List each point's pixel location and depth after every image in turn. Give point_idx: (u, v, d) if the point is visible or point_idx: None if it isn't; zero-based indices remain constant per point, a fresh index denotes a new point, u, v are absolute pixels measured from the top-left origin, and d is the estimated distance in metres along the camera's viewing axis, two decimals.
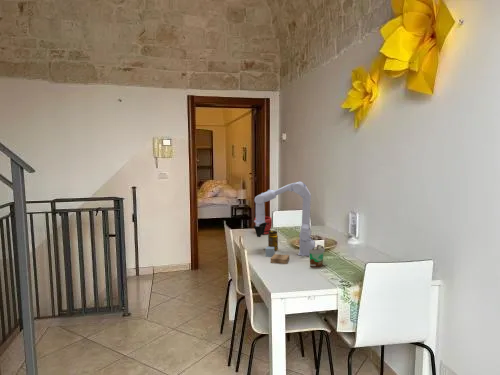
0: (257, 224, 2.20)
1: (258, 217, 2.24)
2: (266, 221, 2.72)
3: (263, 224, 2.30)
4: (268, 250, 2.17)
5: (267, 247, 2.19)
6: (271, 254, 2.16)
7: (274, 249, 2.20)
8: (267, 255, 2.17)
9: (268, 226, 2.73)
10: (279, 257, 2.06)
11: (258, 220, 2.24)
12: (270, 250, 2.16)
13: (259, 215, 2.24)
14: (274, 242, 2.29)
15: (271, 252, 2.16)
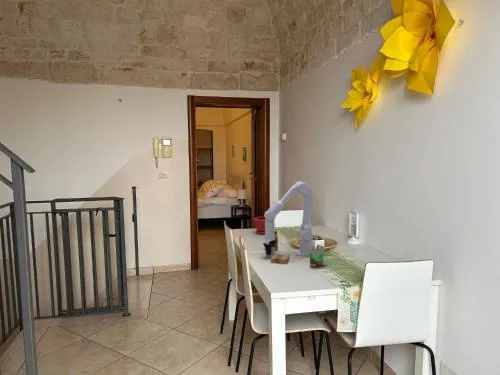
0: (267, 242, 2.11)
1: (268, 234, 2.15)
2: None
3: (273, 241, 2.21)
4: None
5: None
6: (271, 254, 2.16)
7: (274, 249, 2.20)
8: (267, 255, 2.17)
9: None
10: (279, 257, 2.06)
11: (268, 237, 2.15)
12: None
13: (268, 232, 2.15)
14: None
15: (271, 252, 2.16)
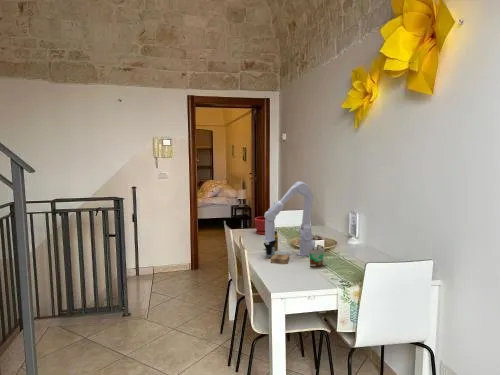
0: (267, 242, 2.11)
1: (268, 234, 2.15)
2: None
3: (272, 242, 2.20)
4: None
5: None
6: (271, 254, 2.16)
7: (274, 249, 2.20)
8: (267, 255, 2.17)
9: None
10: (279, 257, 2.06)
11: (268, 238, 2.15)
12: None
13: (268, 233, 2.15)
14: None
15: (271, 252, 2.16)
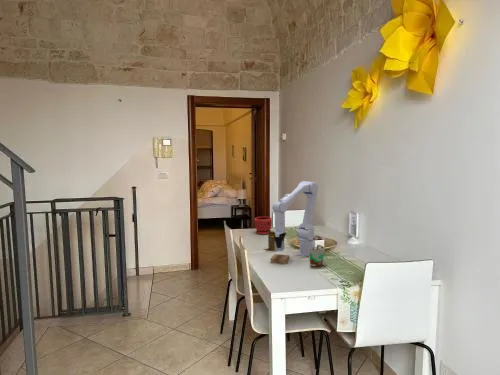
0: (277, 234, 2.00)
1: (278, 226, 2.04)
2: (266, 221, 2.72)
3: (282, 234, 2.09)
4: None
5: None
6: (280, 248, 2.05)
7: None
8: (276, 249, 2.06)
9: (268, 226, 2.73)
10: (279, 257, 2.06)
11: (278, 230, 2.04)
12: None
13: (278, 225, 2.03)
14: (274, 242, 2.29)
15: None
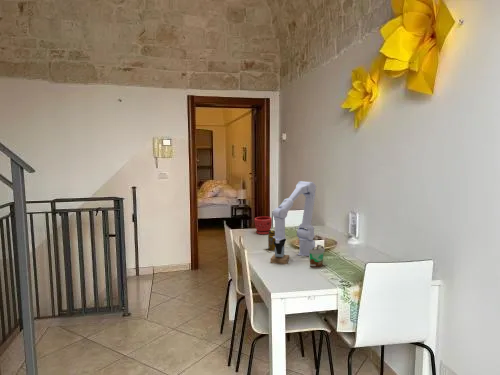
0: (277, 241, 2.00)
1: (278, 233, 2.04)
2: (266, 221, 2.72)
3: (282, 240, 2.09)
4: None
5: None
6: (280, 254, 2.05)
7: None
8: (276, 255, 2.06)
9: (268, 226, 2.73)
10: (279, 257, 2.06)
11: (278, 236, 2.04)
12: None
13: (279, 231, 2.04)
14: None
15: (281, 252, 2.05)
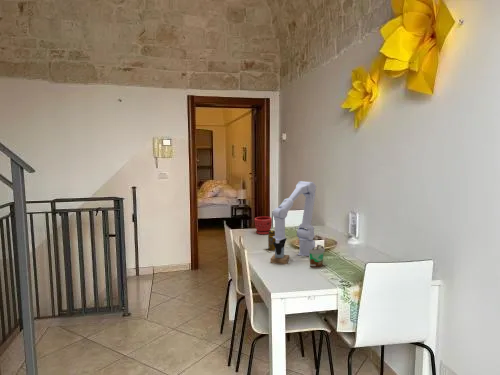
0: (277, 241, 2.00)
1: (278, 233, 2.04)
2: (266, 221, 2.72)
3: (283, 240, 2.10)
4: None
5: None
6: (280, 255, 2.05)
7: None
8: (276, 256, 2.06)
9: (268, 226, 2.73)
10: None
11: (278, 236, 2.04)
12: None
13: (279, 231, 2.04)
14: None
15: (281, 253, 2.05)
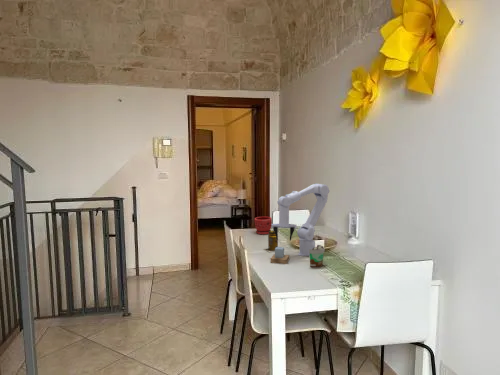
0: None
1: None
2: (266, 221, 2.72)
3: (290, 230, 2.12)
4: (277, 251, 2.06)
5: (276, 247, 2.08)
6: (280, 255, 2.05)
7: None
8: (276, 256, 2.06)
9: (268, 226, 2.73)
10: None
11: None
12: (280, 251, 2.05)
13: (279, 218, 2.13)
14: (274, 242, 2.29)
15: (281, 253, 2.05)
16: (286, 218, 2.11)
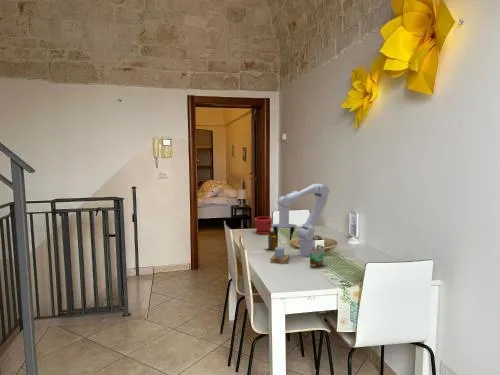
0: None
1: None
2: (266, 221, 2.72)
3: (290, 230, 2.12)
4: (277, 251, 2.06)
5: (276, 247, 2.08)
6: (280, 255, 2.05)
7: None
8: (276, 256, 2.06)
9: (268, 226, 2.73)
10: None
11: None
12: (280, 251, 2.05)
13: (279, 218, 2.13)
14: (274, 242, 2.29)
15: (281, 253, 2.05)
16: (286, 218, 2.11)
